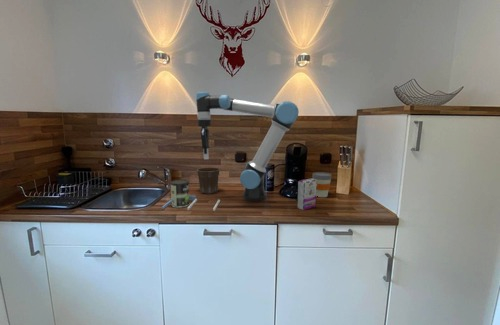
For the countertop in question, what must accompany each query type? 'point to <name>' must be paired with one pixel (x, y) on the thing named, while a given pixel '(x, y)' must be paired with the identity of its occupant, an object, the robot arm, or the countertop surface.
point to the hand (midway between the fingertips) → (206, 159)
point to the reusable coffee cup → (322, 183)
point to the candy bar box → (307, 193)
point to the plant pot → (208, 180)
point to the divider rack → (191, 203)
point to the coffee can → (180, 193)
